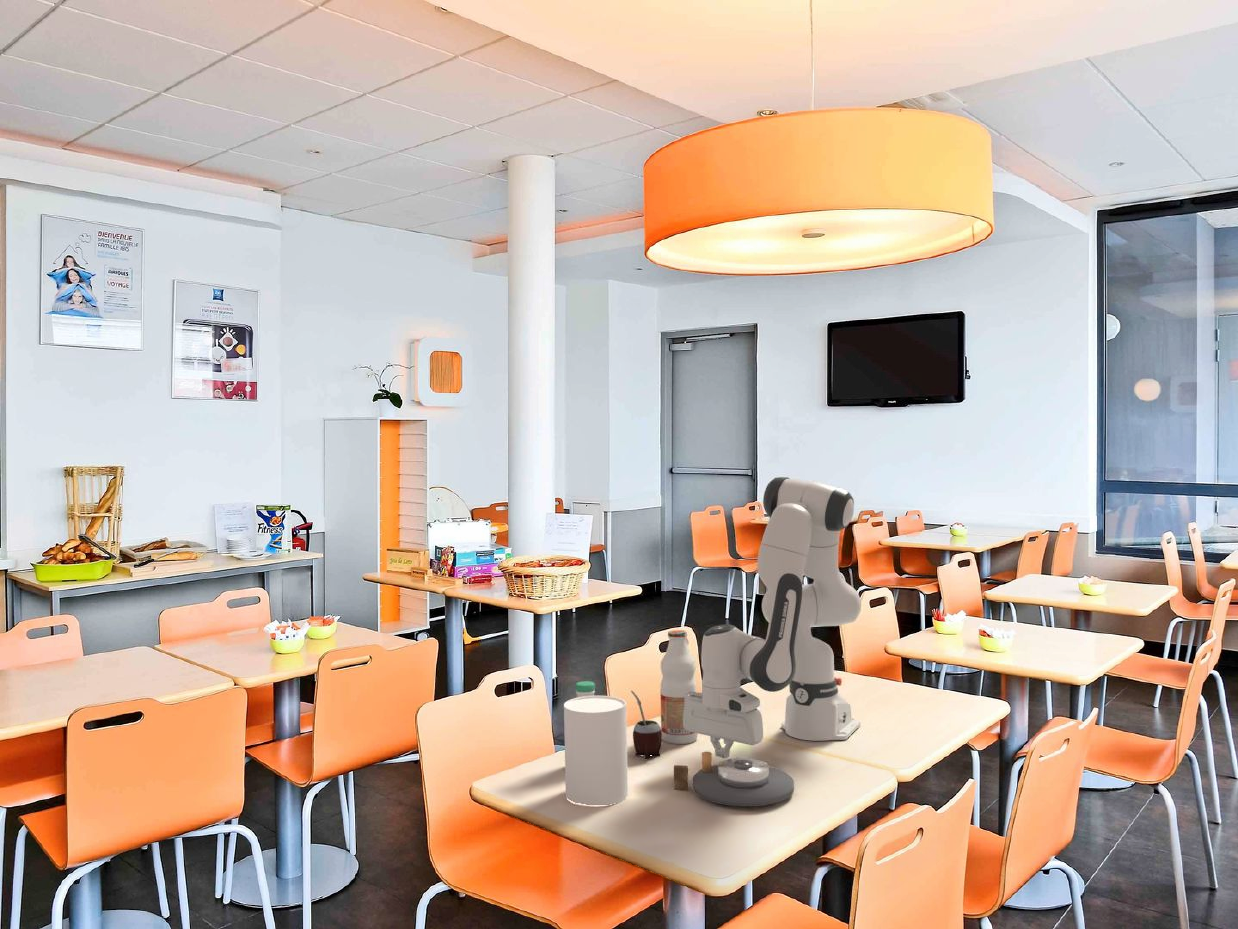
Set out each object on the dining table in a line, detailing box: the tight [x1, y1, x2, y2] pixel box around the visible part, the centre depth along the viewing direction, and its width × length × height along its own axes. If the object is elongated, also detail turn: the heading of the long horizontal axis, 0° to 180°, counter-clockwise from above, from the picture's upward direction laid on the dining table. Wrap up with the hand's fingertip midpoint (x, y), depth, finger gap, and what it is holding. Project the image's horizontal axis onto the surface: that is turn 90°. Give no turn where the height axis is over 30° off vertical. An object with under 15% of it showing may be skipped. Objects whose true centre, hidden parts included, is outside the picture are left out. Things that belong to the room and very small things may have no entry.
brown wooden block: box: [673, 764, 689, 792], centre depth 204 cm, size 3×2×5 cm, turn 81°
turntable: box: [691, 751, 795, 807], centre depth 202 cm, size 22×22×6 cm
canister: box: [563, 695, 629, 806], centre depth 202 cm, size 14×14×20 cm
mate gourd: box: [630, 690, 663, 761], centre depth 227 cm, size 8×8×15 cm
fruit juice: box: [659, 629, 698, 745], centre depth 239 cm, size 9×9×28 cm
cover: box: [717, 757, 770, 789], centre depth 202 cm, size 11×11×4 cm
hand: (722, 756), depth 213 cm, fingers closed
